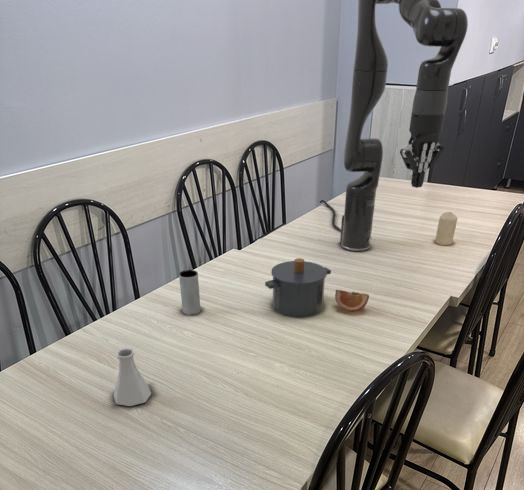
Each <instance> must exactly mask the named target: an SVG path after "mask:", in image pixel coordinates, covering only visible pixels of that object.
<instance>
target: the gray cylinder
mask: <svg viewBox="0 0 524 490" xmlns="http://www.w3.org/2000/svg"><path fill="white" fill-rule="evenodd" d="M178 276H179V289H180V298H181V299H180V300H181V309H182V313H183V314H185V315H188V316H189V315H190V316H193V315H197V314H199V313H200V312H201V296H200V284H199V273H198V271H196V270H193V269H185V270H181V271H180V272H179V273H178Z"/></svg>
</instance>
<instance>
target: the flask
mask: <svg viewBox="0 0 524 490" xmlns="http://www.w3.org/2000/svg"><path fill="white" fill-rule="evenodd" d="M134 355H135V351H134V349H133V348H130V347H124V348H120V349H118V351H116V357H117V359H118V362H119V365H118V366H119V368H118V374H117V380H116V383H115V387H114V392H113V399H114V403H115V404H116V405H120V406H126V407H132V406H137V405H140V404H144V403H146V402H147V400H148V399H149V398H150V396H151V395H152V392H151V389H150V387H149V385H148V383H147V381H146V380H145V379H144V377H143V376H142V374H141V372H140V371H139V369H138V367H137V366H136V363H135V360H134Z"/></svg>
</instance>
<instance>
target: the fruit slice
mask: <svg viewBox="0 0 524 490" xmlns="http://www.w3.org/2000/svg"><path fill="white" fill-rule="evenodd" d="M334 297H335V298H334V300H335V302H336V303H337V305H338V306H340V307H341V308H342V309H344V310H345V311H348V312H351V313H352V312H353V313H354V312H359V311H361V310H362V309H364V308H365V307H366V305H367V304H368V301H369V298H370V295H369V293H361V292H355V291H346V290H342V289H335V294H334Z"/></svg>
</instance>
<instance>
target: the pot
mask: <svg viewBox="0 0 524 490" xmlns="http://www.w3.org/2000/svg"><path fill="white" fill-rule="evenodd" d="M323 267H324V266H323ZM324 268H325V269H326V271H327V276H328V275H331V274H332V270H331V269H329V268H328V267H326V266H325V267H324ZM325 282H326V278H325V279H323V280H322V281H320V282H317V283H314V284H307V285H294V284H287V283H283V282H280V281H278V280H276V279H275V278H274V277H273V276H272V279H271V280H268V281H265V282H264V286H265V287H267V288H268V289H270V290H272V307H273V309H274V310H275V311H276V312H277V313H278V314H280V315H282V316H286V317H291V318H307V317H312V316H315V315H317V314H318V313H320V312H321V311H322V309H323V308H324V307H323V306H324V296H325V294H324V293H325V284H326V283H325Z"/></svg>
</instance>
